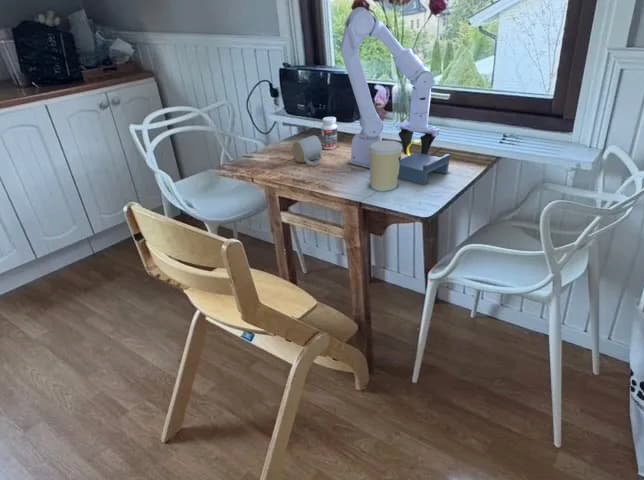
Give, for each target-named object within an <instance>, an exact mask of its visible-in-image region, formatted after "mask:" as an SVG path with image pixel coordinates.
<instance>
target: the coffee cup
mask: <svg viewBox="0 0 644 480" xmlns="http://www.w3.org/2000/svg"><path fill="white" fill-rule="evenodd" d="M369 151H370V168H369V181H370V183H369V184H370V188H371V189H373V190H374V191H379V192H380V191H381V192H385V191H392V190H394V189H396V188H397V186H398V180H399V178H398V173H399V167H400V160H401V159H402V151H403V144H402V142H399V141H395V140H382V141H378V142H375V143H373V144H371V145H370V148H369Z"/></svg>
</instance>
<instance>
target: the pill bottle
mask: <svg viewBox="0 0 644 480" xmlns="http://www.w3.org/2000/svg"><path fill="white" fill-rule="evenodd" d="M336 122H337V117H335V116H325V117H323V118H322V124H321V125H320V130H321V132H320V143H321V146H322V149H324V150H332V149H335V148H337V146H338V125H337V124H336Z"/></svg>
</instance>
